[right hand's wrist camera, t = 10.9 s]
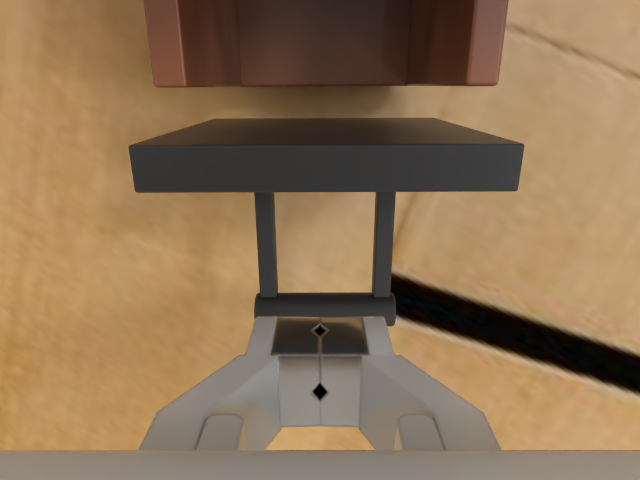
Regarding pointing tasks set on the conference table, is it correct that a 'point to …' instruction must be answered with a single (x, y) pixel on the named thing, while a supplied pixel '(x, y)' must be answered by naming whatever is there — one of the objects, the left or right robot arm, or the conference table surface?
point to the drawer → (325, 133)
